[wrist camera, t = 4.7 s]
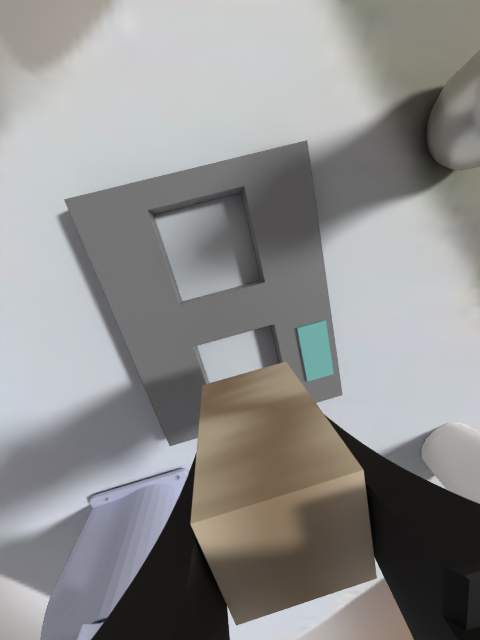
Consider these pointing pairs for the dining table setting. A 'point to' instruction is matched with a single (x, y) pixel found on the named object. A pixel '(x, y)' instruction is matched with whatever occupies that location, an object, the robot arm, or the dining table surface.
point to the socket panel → (221, 307)
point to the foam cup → (455, 458)
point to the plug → (276, 496)
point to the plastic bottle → (457, 120)
